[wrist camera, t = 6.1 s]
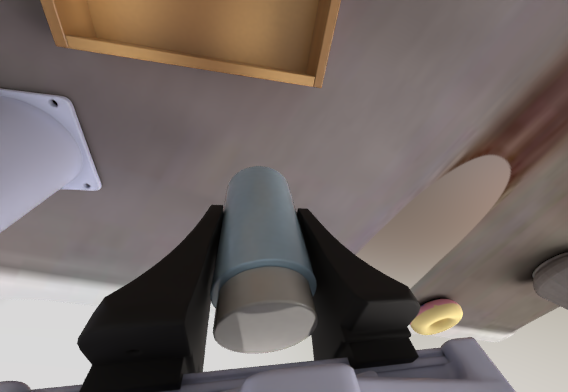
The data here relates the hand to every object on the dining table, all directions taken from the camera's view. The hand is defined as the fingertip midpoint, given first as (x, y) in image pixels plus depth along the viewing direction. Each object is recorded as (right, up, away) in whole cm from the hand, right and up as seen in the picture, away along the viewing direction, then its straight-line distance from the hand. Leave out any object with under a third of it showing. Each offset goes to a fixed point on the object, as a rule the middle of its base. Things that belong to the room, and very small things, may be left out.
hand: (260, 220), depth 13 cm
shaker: (0, +2, +2) cm, 3 cm away
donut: (+32, -22, +32) cm, 50 cm away
